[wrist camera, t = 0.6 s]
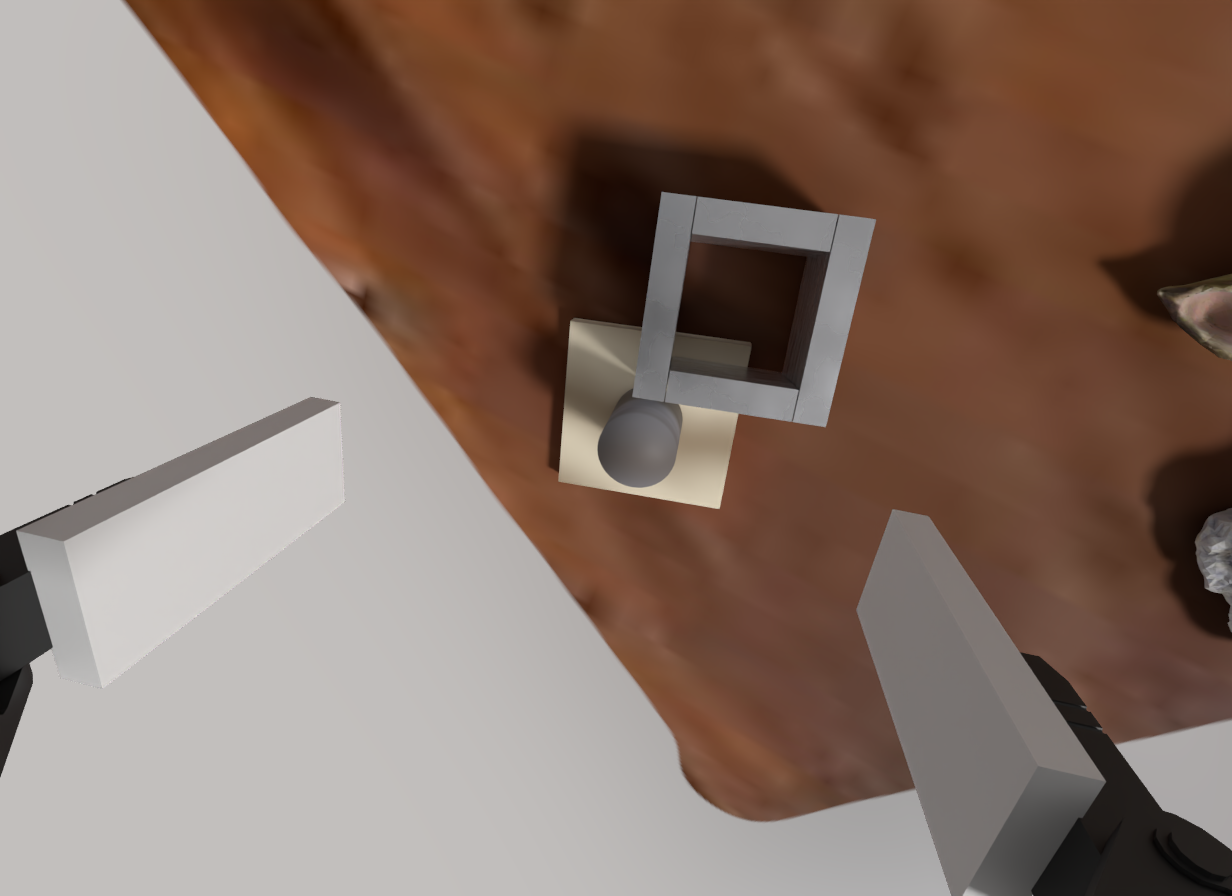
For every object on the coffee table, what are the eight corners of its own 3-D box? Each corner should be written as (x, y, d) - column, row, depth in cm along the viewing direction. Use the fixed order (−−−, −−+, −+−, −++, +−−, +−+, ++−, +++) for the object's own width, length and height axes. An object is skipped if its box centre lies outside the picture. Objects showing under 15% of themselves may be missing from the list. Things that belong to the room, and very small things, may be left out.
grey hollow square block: (666, 206, 31) (661, 191, 25) (843, 229, 30) (876, 219, 25) (641, 378, 33) (632, 396, 28) (803, 403, 33) (825, 427, 27)
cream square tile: (574, 317, 34) (546, 339, 29) (750, 342, 33) (756, 370, 27) (562, 474, 38) (535, 520, 32) (719, 501, 37) (718, 553, 31)
